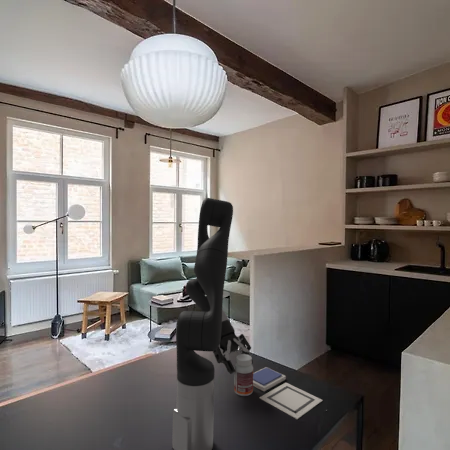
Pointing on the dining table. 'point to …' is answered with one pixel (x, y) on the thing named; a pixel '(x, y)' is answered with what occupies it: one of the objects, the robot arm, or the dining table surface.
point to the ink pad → (267, 378)
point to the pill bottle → (243, 375)
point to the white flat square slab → (291, 400)
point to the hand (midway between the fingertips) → (242, 368)
